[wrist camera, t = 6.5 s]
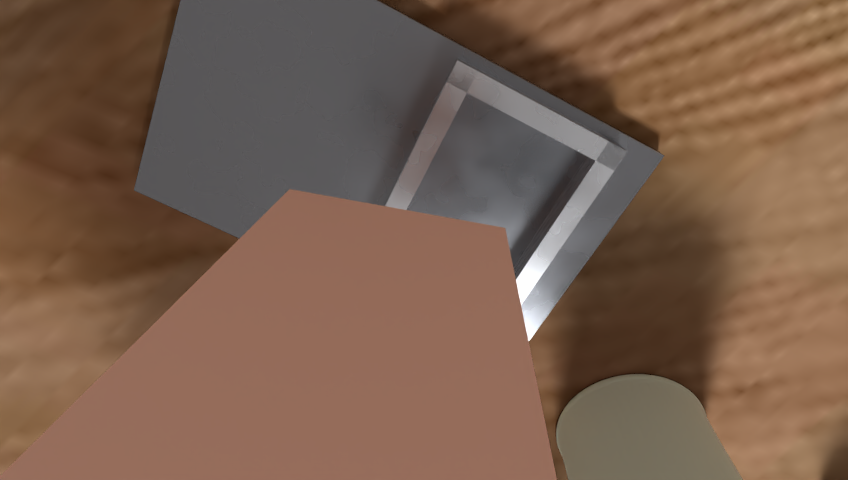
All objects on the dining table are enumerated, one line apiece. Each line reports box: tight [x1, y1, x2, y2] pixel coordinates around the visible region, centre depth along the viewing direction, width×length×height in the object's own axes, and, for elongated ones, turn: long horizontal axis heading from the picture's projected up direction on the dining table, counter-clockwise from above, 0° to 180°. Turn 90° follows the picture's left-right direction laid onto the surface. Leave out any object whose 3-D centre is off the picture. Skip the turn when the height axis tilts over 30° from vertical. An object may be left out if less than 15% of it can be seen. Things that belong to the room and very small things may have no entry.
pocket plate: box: [134, 0, 664, 341], centre depth 25 cm, size 23×14×2 cm, turn 64°
